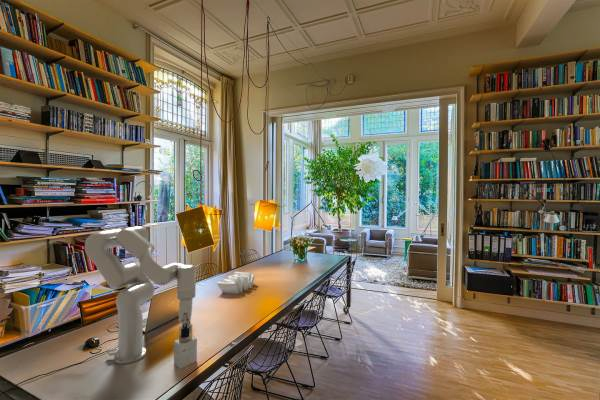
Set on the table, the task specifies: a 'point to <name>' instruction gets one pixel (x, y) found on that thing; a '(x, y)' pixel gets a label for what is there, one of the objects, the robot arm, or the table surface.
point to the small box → (185, 352)
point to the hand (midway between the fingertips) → (185, 331)
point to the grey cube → (186, 337)
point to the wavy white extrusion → (236, 283)
